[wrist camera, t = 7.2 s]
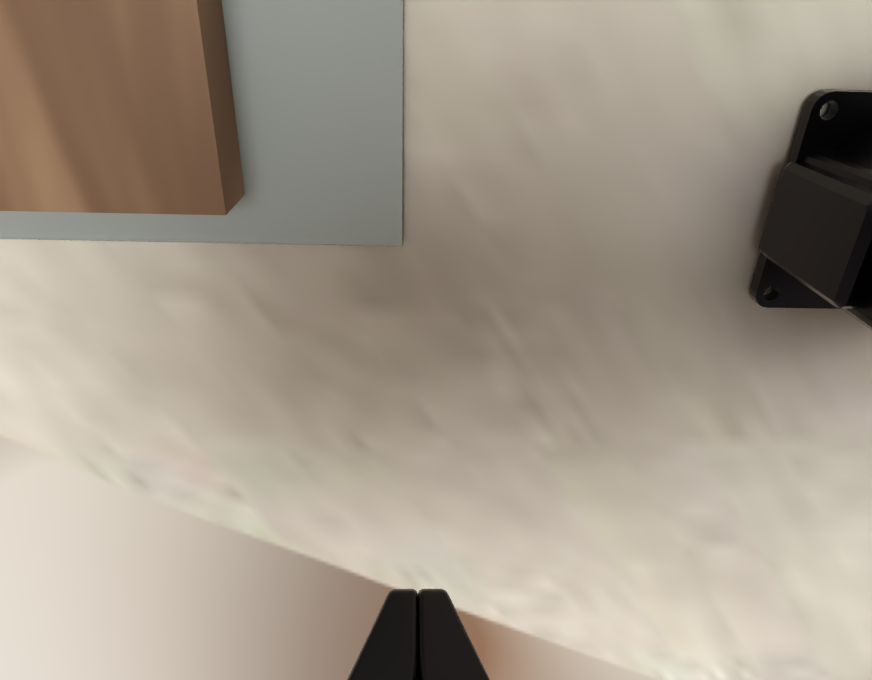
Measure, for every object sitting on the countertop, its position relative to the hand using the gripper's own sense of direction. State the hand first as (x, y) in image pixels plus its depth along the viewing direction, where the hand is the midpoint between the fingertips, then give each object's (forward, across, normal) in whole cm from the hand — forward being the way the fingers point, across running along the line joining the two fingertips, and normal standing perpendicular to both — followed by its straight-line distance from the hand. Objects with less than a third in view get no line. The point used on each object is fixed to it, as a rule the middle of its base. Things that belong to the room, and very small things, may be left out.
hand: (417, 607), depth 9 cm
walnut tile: (+11, +5, -6) cm, 13 cm away
